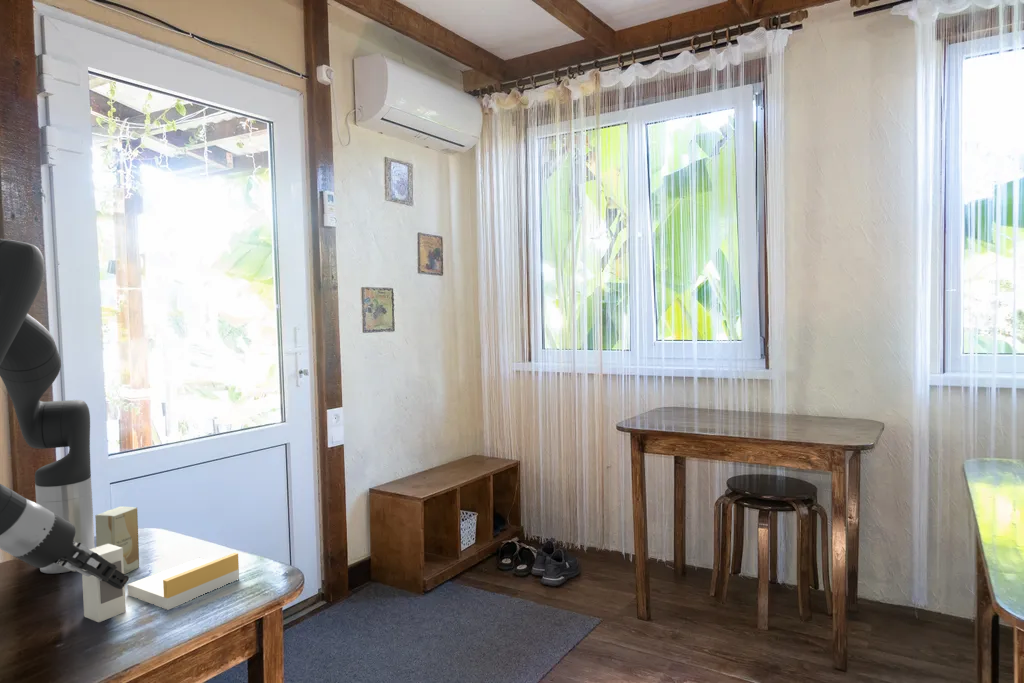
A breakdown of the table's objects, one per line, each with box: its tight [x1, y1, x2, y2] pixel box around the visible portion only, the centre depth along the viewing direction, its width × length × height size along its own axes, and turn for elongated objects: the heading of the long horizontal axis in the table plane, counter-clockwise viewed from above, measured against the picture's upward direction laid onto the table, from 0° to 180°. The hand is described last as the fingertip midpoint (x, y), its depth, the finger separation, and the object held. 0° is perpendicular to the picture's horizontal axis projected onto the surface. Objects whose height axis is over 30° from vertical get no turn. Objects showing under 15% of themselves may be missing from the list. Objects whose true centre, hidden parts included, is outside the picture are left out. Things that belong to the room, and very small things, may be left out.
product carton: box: [81, 544, 127, 623], centre depth 110 cm, size 5×4×11 cm
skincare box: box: [95, 506, 140, 575], centre depth 127 cm, size 6×4×12 cm
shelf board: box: [127, 552, 240, 611], centre depth 120 cm, size 12×14×5 cm
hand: (115, 580), depth 111 cm, fingers closed on product carton, 4 cm apart
